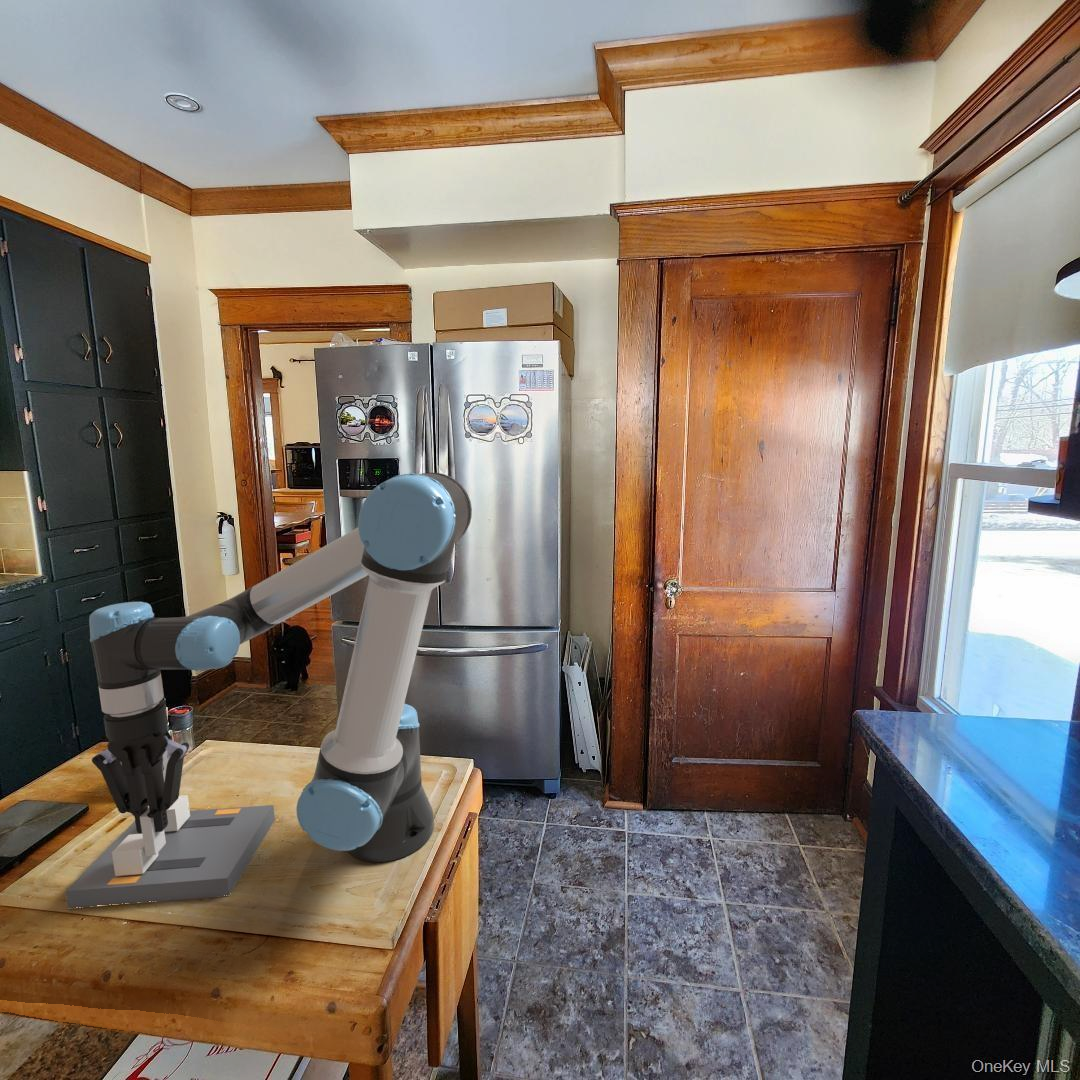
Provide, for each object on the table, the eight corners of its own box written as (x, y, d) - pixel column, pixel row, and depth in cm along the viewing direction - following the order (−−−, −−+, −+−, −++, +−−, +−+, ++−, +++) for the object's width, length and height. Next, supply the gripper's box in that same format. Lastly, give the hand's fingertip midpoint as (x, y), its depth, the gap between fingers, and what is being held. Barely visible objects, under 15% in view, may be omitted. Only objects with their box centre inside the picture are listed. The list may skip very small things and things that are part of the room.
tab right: (190, 815, 98) (187, 795, 98) (177, 830, 94) (174, 809, 94) (166, 817, 98) (163, 796, 97) (152, 832, 94) (150, 810, 93)
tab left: (158, 855, 88) (155, 832, 88) (143, 873, 85) (139, 850, 84) (132, 857, 88) (128, 834, 88) (115, 876, 84) (111, 852, 84)
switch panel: (274, 819, 102) (273, 804, 101) (229, 895, 84) (227, 877, 84) (143, 829, 100) (141, 813, 100) (68, 909, 82) (65, 890, 82)
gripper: (193, 692, 87) (211, 829, 90) (105, 698, 86) (127, 837, 89) (165, 714, 80) (186, 862, 83) (69, 721, 79) (94, 871, 82)
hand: (155, 849), depth 86 cm, fingers closed
